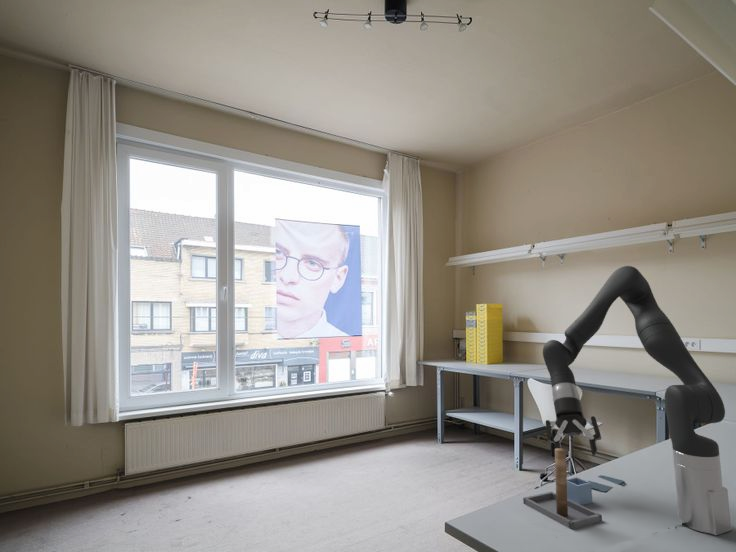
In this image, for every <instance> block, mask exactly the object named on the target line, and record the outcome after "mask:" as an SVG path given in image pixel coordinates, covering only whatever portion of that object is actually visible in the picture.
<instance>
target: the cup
mask: <svg viewBox="0 0 736 552" xmlns="http://www.w3.org/2000/svg"><path fill="white" fill-rule="evenodd" d="M567 499H569V500H571V501H573V502H575V503H577V504H579V505H582V506H584V505H585V506H586V505H588V504H592V503H593V491H592V489H591V483H590V482H588V480H585V479H582V478H580V477H571V478H567Z"/></svg>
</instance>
